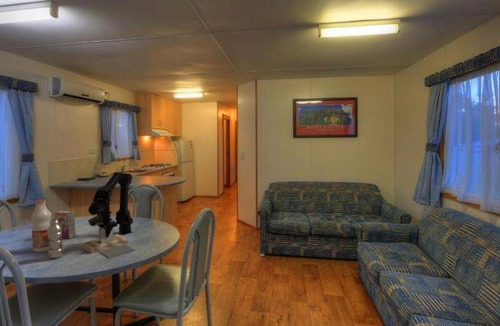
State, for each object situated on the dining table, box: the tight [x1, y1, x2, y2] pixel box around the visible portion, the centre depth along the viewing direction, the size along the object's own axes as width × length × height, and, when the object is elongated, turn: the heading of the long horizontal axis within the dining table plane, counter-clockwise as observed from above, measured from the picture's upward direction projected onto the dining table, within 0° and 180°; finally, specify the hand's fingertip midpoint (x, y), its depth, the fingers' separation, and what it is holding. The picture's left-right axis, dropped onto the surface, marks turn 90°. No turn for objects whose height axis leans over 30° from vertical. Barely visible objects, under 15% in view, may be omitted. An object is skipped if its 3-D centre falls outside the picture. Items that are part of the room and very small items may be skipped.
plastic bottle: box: [47, 218, 65, 259], centre depth 145 cm, size 6×7×20 cm
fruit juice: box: [30, 199, 52, 253], centre depth 157 cm, size 9×9×28 cm
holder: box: [81, 233, 129, 254], centre depth 163 cm, size 20×14×2 cm
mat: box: [99, 244, 136, 259], centre depth 153 cm, size 14×12×1 cm
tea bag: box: [98, 227, 114, 244], centre depth 163 cm, size 4×7×10 cm, turn 140°
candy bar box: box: [54, 210, 77, 240], centre depth 177 cm, size 11×5×16 cm, turn 72°
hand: (105, 236), depth 163 cm, fingers closed on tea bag, 4 cm apart
